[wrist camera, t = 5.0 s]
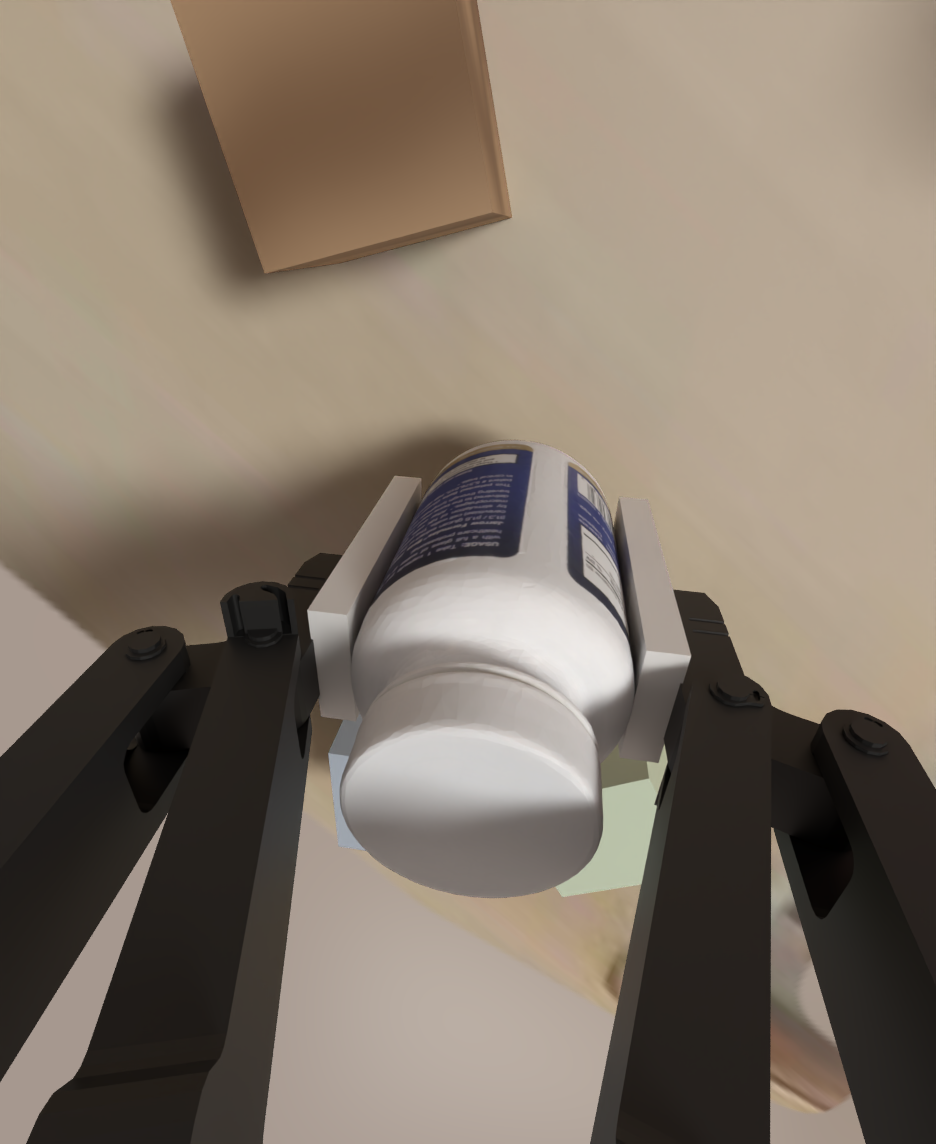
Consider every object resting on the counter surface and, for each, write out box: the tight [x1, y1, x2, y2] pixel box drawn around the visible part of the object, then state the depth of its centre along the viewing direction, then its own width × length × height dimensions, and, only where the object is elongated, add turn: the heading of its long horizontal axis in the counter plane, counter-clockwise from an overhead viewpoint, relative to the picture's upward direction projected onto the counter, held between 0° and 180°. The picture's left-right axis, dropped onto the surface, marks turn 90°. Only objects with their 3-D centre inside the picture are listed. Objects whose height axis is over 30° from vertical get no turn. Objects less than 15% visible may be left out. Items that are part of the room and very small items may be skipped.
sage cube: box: [555, 744, 668, 897], centre depth 22 cm, size 5×5×5 cm
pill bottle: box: [339, 440, 635, 898], centre depth 13 cm, size 5×5×10 cm
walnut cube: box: [171, 0, 512, 274], centre depth 13 cm, size 5×5×5 cm
